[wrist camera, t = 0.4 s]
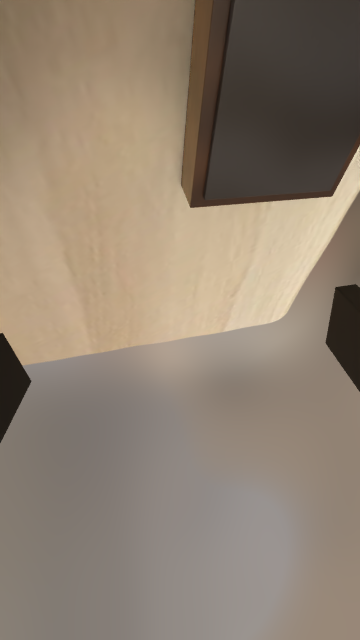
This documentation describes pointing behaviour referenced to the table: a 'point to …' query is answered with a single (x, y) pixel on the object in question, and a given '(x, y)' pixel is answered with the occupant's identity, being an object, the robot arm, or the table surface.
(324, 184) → the walnut stand
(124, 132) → the table surface
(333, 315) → the robot arm
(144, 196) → the table surface
